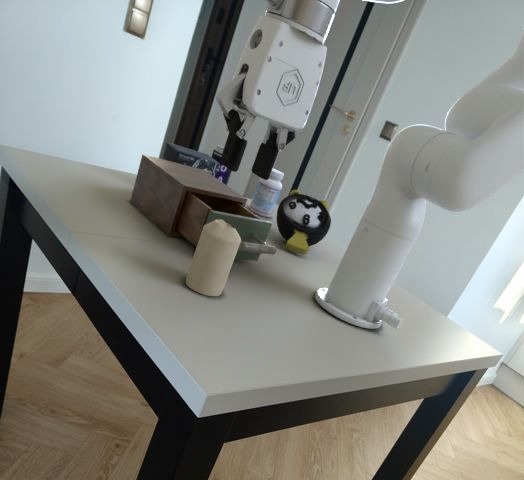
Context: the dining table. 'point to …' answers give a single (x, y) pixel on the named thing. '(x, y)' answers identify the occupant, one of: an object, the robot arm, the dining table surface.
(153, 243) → the dining table surface
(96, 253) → the dining table surface
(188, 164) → the box
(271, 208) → the pill bottle
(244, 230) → the drawer
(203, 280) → the candle
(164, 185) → the cabinet
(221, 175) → the beverage can
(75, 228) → the dining table surface
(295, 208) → the alarm clock
